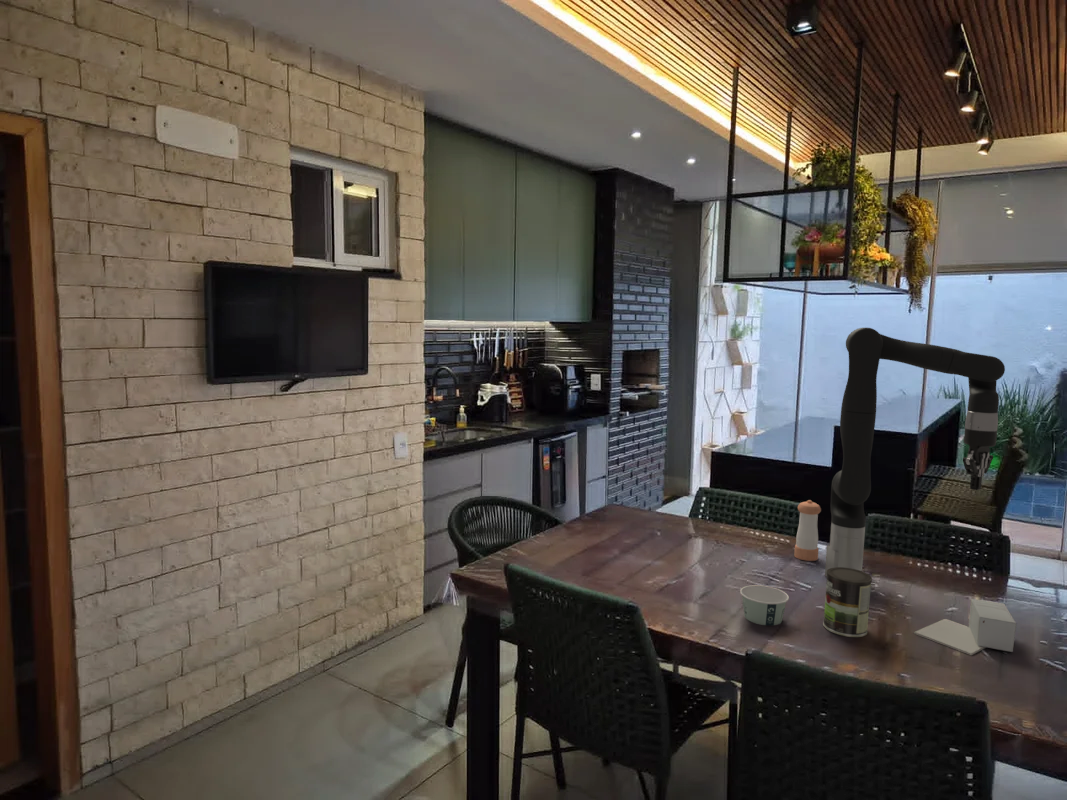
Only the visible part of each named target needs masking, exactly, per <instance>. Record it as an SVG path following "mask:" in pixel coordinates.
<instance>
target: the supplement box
mask: <svg viewBox="0 0 1067 800" xmlns="http://www.w3.org/2000/svg"><path fill="white" fill-rule="evenodd" d="M969 610H970V611H969V617H968V618H969V619H968V627H970V629H971V631H972V634H973V636H974V638H975V641H976V643H977V645H978V646H982V647H986V648H987V649H988V648H989V649H993V650H998V651H1004V652H1011V653H1013V652H1014V645H1015V637H1016V631H1017V622H1016V620H1015V619H1014V617H1013V616H1012V614H1011V613H1010V611H1009V609H1008V607H1007V606H1006V604H1005V603H1002V602H1001V603H1000V602H995V601H989V600H988V601H987V600H984V599H983V600H982V599H975V598H971V600H970V609H969Z"/></svg>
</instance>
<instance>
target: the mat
mask: <svg viewBox="0 0 1067 800" xmlns="http://www.w3.org/2000/svg"><path fill="white" fill-rule="evenodd" d="M913 633H914V635H916V636H919V637H922V638H924V639H927V640H930V641H932V642H935V643H938V644H941V645H944V646H945V647H949V648H951V649H953V650H956V651H959V652H961V653H964V654H967V655H969V656H973V655H975V654H976V653H979V652H980V651H982V650H985V649H986V648H987V647H982V646H978V645H977V643H976V641H975V638H974V636H973V634H972V631H971V629H970V627H969V625H968V626H967V625H964V624H961V623H958V622H956V621H953V620H950V619H947V618H943V619H941V620H939V621H936V622H934V623H931V624H930V625H927V626H925V627H923V628H920V629H918V630H916V631H914V632H913Z"/></svg>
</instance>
